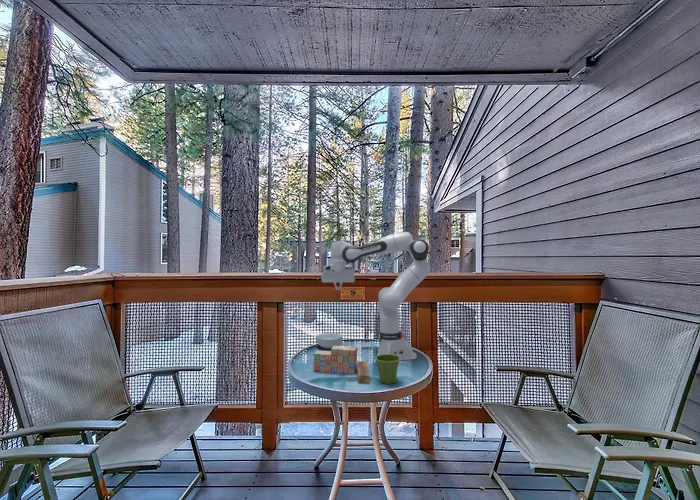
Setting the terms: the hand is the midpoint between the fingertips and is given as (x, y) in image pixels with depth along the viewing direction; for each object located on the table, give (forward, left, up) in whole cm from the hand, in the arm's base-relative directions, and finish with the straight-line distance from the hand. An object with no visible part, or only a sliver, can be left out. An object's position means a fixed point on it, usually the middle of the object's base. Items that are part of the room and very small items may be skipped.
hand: (338, 289), depth 215 cm
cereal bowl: (+6, -8, -37) cm, 39 cm away
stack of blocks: (0, +34, -38) cm, 51 cm away
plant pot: (-25, +48, -37) cm, 66 cm away
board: (-14, +40, -38) cm, 57 cm away
